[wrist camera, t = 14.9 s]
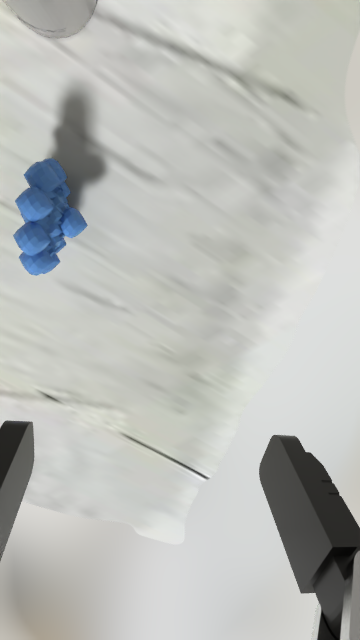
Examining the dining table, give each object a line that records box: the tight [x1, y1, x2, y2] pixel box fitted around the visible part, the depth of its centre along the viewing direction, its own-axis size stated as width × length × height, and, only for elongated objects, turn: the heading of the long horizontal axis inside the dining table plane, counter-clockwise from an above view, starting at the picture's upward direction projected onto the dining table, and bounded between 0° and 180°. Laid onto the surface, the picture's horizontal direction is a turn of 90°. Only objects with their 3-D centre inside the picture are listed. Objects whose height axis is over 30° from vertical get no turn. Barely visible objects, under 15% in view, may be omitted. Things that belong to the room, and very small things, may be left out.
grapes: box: [13, 158, 87, 276], centre depth 33 cm, size 12×7×12 cm, turn 169°
